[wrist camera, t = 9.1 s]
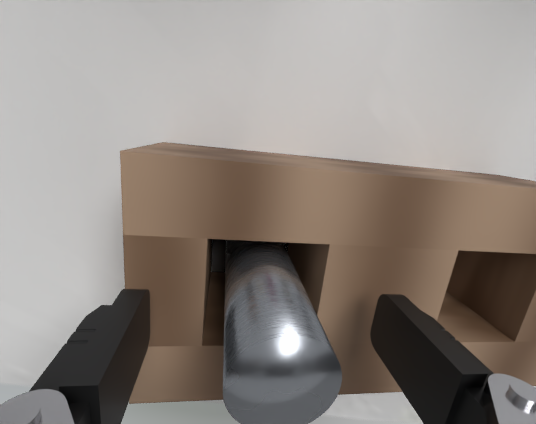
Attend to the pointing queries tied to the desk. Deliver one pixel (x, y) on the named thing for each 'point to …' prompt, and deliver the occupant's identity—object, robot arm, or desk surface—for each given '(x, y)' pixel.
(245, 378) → the pin
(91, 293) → the desk surface
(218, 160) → the hole block
